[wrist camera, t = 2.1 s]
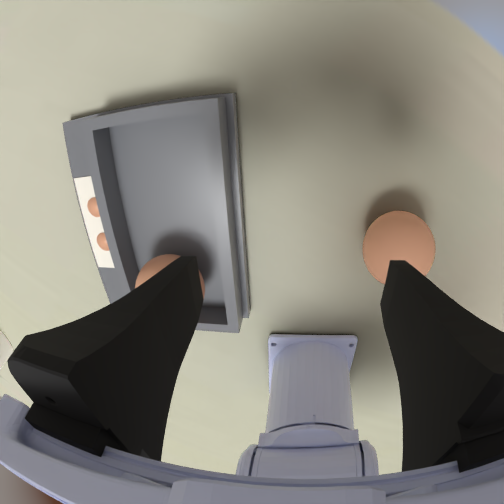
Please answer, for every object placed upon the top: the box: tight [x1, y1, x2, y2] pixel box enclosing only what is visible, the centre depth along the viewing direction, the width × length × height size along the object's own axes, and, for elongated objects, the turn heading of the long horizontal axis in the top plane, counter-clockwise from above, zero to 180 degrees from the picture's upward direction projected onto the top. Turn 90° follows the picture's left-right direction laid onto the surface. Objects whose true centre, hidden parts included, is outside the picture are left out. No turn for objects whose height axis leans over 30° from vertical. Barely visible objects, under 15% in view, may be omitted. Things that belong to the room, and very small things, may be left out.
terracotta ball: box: [363, 211, 435, 284], centre depth 19 cm, size 5×5×5 cm
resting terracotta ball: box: [135, 254, 205, 298], centre depth 21 cm, size 5×5×5 cm
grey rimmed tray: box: [63, 93, 250, 333], centre depth 21 cm, size 17×13×3 cm
